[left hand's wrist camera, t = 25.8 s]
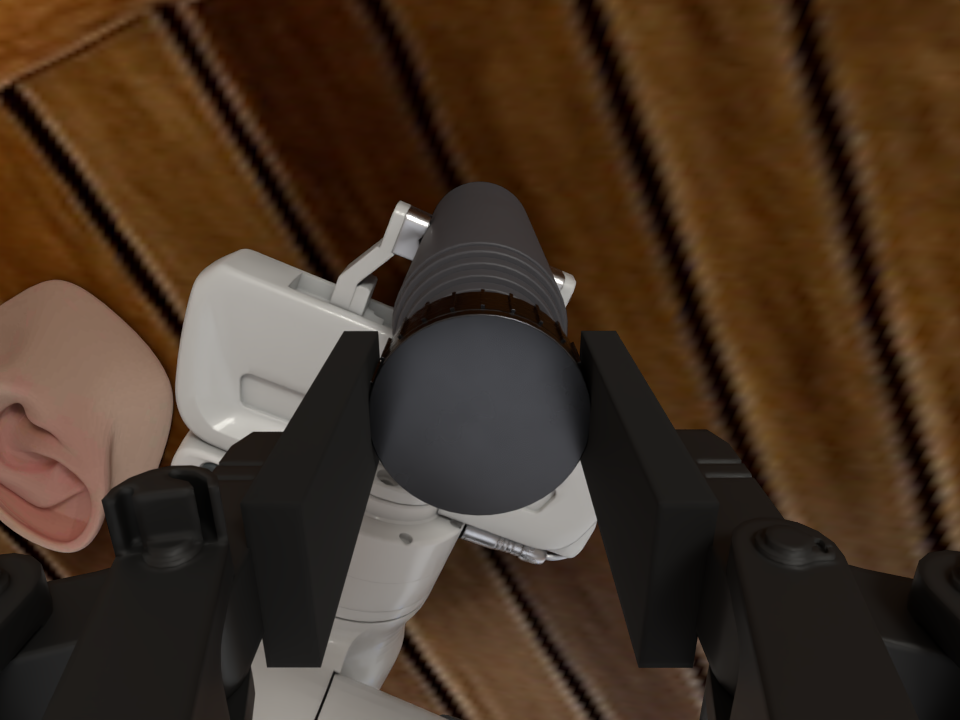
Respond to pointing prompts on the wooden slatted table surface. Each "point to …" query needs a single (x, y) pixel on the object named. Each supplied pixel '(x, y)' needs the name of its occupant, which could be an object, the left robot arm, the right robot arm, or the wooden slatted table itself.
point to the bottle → (479, 254)
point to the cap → (479, 404)
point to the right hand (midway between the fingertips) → (487, 240)
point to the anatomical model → (73, 412)
